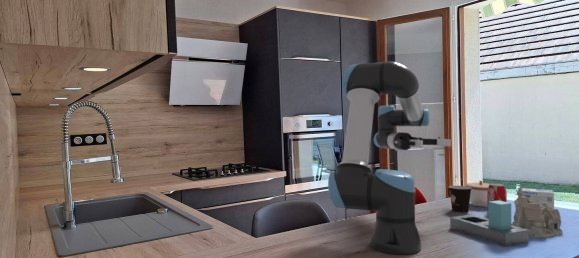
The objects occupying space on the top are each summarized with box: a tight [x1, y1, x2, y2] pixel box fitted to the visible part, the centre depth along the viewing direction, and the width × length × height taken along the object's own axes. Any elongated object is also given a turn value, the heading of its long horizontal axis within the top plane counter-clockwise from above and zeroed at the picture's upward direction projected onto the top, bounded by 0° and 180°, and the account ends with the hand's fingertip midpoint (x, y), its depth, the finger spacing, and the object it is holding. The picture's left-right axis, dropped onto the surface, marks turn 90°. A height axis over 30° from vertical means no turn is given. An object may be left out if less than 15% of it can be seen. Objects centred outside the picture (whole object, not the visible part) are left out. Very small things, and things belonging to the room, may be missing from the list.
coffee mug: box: [447, 185, 471, 213], centre depth 164 cm, size 12×9×10 cm
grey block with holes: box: [449, 213, 529, 248], centre depth 128 cm, size 22×10×4 cm, turn 22°
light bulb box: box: [522, 188, 555, 209], centre depth 150 cm, size 11×7×11 cm, turn 58°
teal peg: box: [487, 201, 512, 231], centre depth 123 cm, size 5×5×12 cm
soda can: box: [487, 182, 508, 209], centre depth 157 cm, size 7×7×12 cm
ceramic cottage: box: [511, 187, 563, 239], centre depth 131 cm, size 16×16×15 cm
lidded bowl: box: [465, 180, 490, 208], centre depth 173 cm, size 13×13×11 cm
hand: (436, 143), depth 144 cm, fingers open, 13 cm apart
